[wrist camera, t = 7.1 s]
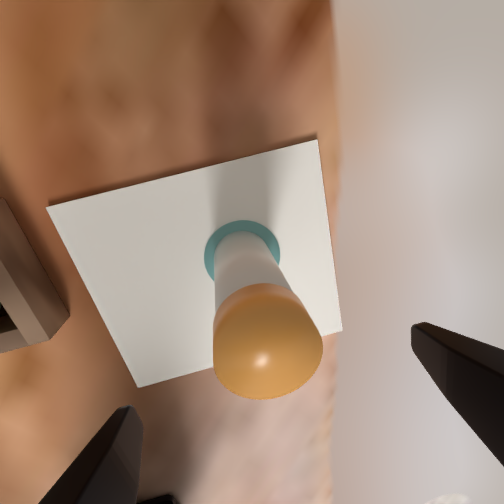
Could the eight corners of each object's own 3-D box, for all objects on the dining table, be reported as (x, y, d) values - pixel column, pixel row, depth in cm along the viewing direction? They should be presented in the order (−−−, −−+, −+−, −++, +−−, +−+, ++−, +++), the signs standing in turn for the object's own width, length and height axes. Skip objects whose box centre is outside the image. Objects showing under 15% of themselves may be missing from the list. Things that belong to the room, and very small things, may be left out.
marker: (275, 275, 19) (329, 382, 10) (221, 289, 19) (229, 411, 10) (263, 222, 18) (314, 294, 9) (205, 237, 18) (198, 326, 9)
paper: (340, 328, 22) (343, 331, 22) (139, 384, 21) (137, 389, 21) (315, 139, 17) (318, 139, 16) (48, 206, 16) (44, 208, 16)
